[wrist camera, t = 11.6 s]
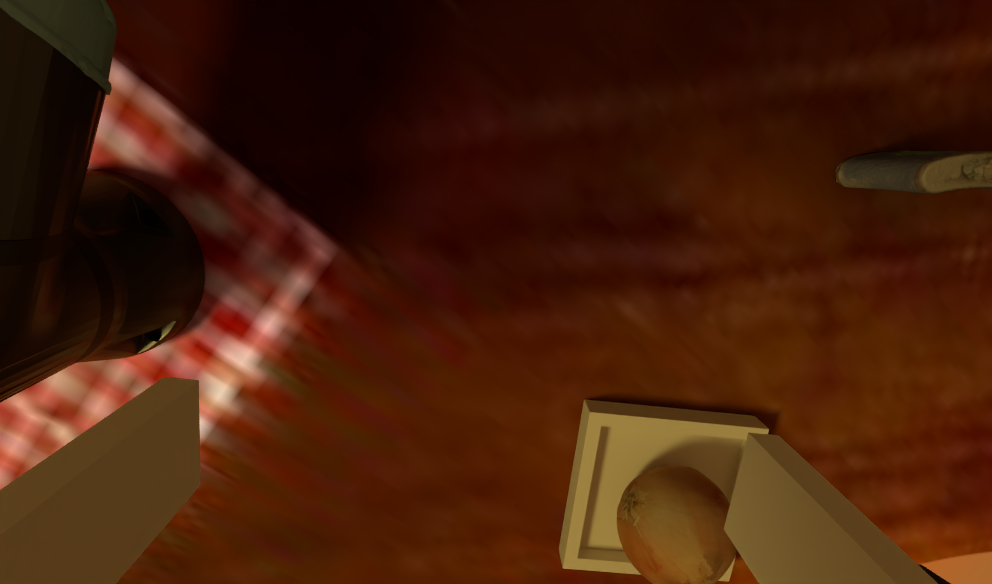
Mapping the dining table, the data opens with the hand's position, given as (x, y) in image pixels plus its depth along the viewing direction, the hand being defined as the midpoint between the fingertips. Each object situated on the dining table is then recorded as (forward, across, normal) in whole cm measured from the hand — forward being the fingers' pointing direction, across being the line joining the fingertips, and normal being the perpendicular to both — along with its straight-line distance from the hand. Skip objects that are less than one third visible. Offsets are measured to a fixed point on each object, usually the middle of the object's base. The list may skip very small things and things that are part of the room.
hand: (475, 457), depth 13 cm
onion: (+32, +19, -21) cm, 43 cm away
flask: (+33, +33, +10) cm, 48 cm away
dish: (+33, +19, -21) cm, 43 cm away
